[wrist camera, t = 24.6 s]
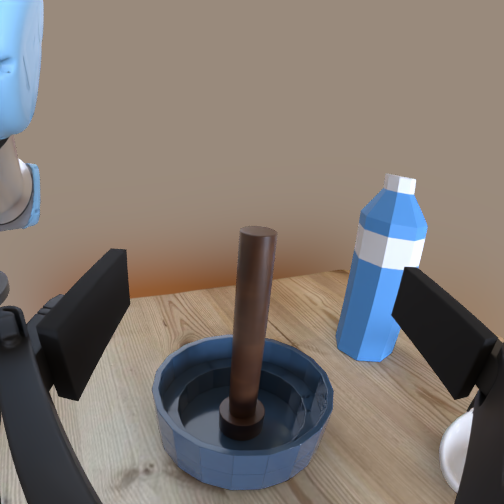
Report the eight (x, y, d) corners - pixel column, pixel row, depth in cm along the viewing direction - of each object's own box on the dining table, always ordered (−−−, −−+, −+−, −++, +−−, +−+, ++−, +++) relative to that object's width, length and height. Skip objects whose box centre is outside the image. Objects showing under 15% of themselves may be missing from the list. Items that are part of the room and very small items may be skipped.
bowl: (133, 460, 23) (119, 418, 21) (194, 365, 38) (193, 322, 36) (308, 507, 20) (328, 472, 18) (322, 391, 35) (334, 349, 33)
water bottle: (403, 355, 42) (448, 187, 34) (353, 367, 39) (396, 177, 31) (371, 325, 50) (403, 175, 42) (324, 331, 48) (352, 167, 40)
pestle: (212, 434, 27) (218, 234, 21) (225, 405, 31) (236, 219, 25) (257, 445, 26) (286, 244, 20) (266, 414, 30) (293, 227, 24)
